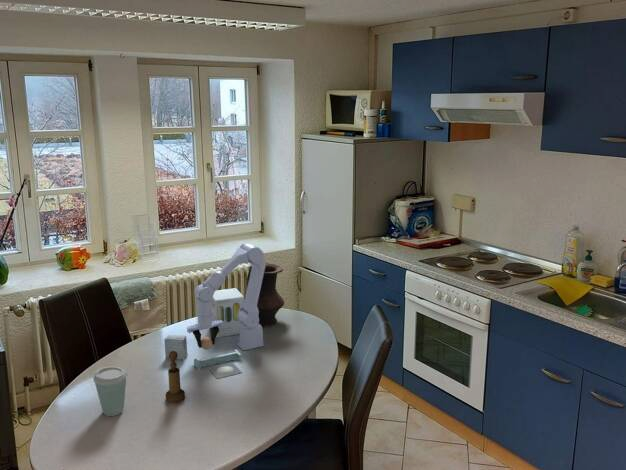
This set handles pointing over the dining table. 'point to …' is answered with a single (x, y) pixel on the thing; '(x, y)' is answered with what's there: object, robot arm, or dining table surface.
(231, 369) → the resting mat
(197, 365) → the divider wall
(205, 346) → the ball
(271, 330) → the dining table surface
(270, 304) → the jug
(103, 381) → the disposable coffee cup
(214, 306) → the supplement box
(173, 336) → the medicine box
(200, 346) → the robot arm
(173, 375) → the brown wooden tall figure
